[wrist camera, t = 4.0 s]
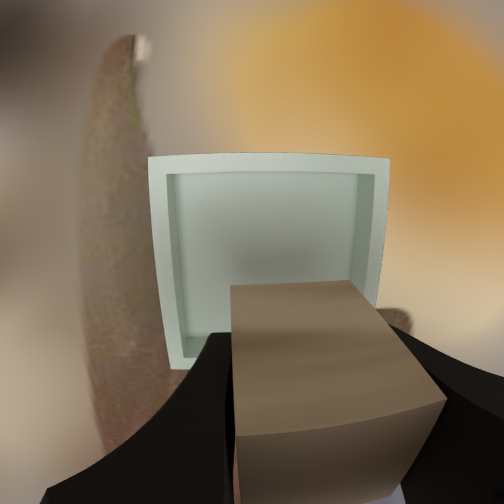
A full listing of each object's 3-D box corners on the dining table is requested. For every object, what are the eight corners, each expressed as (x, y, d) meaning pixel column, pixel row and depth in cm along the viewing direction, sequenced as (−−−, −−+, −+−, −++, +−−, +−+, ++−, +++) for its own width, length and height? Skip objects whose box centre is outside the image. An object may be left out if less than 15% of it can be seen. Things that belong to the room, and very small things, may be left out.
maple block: (335, 371, 12) (390, 495, 6) (234, 380, 11) (242, 521, 6) (349, 279, 10) (447, 398, 5) (229, 285, 10) (235, 436, 4)
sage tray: (351, 334, 19) (365, 357, 17) (176, 343, 19) (170, 368, 16) (368, 156, 16) (390, 158, 14) (159, 156, 15) (147, 157, 13)
